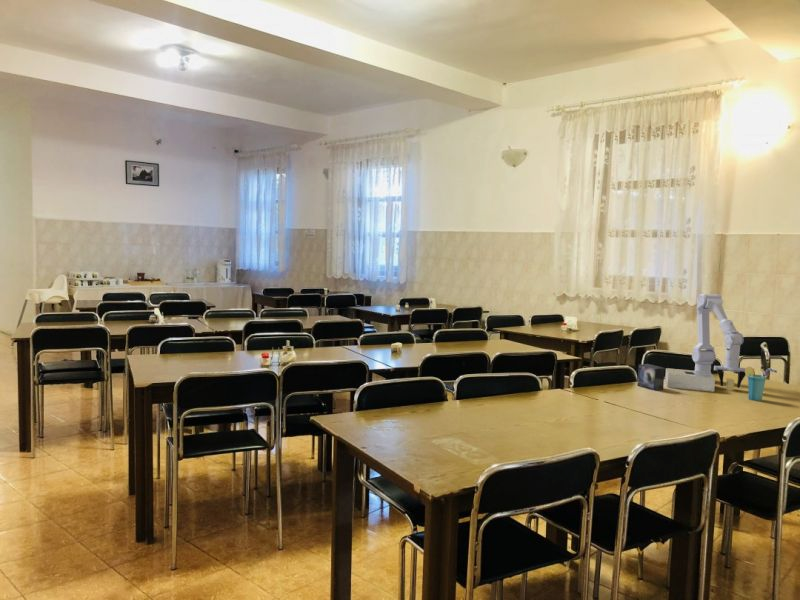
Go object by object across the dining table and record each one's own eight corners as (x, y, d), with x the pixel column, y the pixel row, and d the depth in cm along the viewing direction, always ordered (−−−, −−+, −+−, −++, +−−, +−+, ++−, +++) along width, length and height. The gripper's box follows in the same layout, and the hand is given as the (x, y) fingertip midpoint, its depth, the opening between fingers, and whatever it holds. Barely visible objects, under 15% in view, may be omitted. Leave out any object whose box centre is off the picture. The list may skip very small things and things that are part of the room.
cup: (778, 402, 270) (781, 368, 269) (769, 404, 266) (772, 370, 265) (745, 395, 282) (748, 363, 281) (736, 397, 277) (739, 364, 276)
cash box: (665, 381, 309) (665, 368, 309) (709, 385, 303) (710, 372, 302) (667, 387, 294) (668, 373, 294) (714, 391, 288) (715, 378, 287)
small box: (636, 385, 295) (637, 364, 295) (646, 385, 298) (647, 363, 297) (653, 390, 286) (655, 368, 285) (663, 389, 289) (665, 367, 288)
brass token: (725, 388, 297) (726, 378, 297) (731, 388, 296) (732, 378, 296) (727, 390, 292) (728, 380, 292) (733, 391, 292) (734, 380, 291)
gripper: (716, 358, 292) (714, 386, 293) (751, 361, 287) (748, 389, 288) (714, 355, 298) (712, 383, 300) (748, 358, 294) (745, 386, 295)
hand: (729, 386), depth 294 cm, fingers open, 6 cm apart
